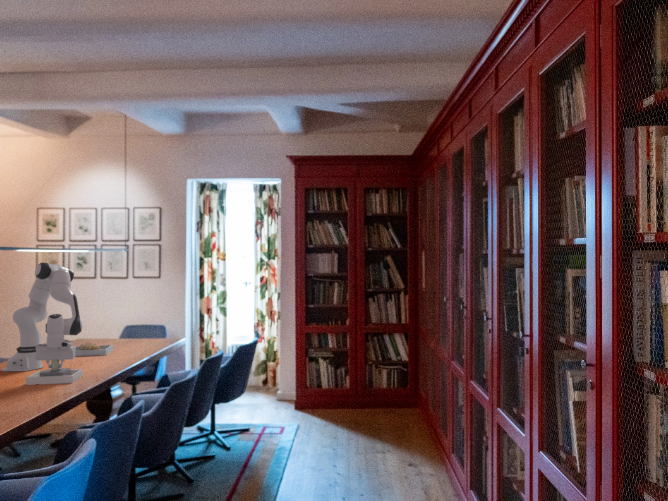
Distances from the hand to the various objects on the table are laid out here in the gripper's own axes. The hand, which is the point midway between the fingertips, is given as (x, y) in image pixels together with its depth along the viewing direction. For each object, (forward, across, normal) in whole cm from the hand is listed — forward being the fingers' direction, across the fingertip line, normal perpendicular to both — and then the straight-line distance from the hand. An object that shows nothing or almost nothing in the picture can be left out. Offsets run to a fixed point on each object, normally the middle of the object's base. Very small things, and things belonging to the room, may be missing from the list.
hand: (55, 367), depth 299 cm
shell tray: (+7, -6, +90) cm, 90 cm away
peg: (+4, 0, 0) cm, 4 cm away
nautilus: (+7, -6, +90) cm, 90 cm away
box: (+7, 0, 0) cm, 7 cm away
